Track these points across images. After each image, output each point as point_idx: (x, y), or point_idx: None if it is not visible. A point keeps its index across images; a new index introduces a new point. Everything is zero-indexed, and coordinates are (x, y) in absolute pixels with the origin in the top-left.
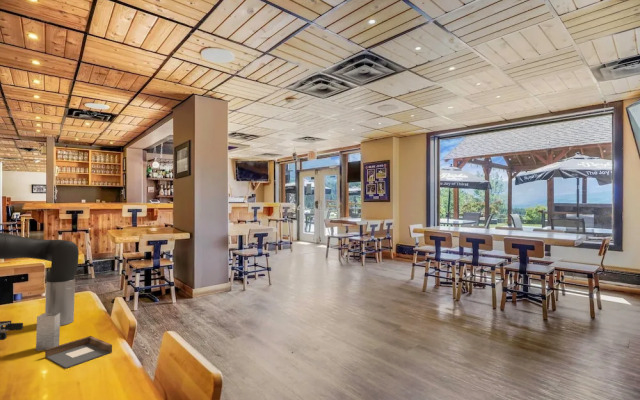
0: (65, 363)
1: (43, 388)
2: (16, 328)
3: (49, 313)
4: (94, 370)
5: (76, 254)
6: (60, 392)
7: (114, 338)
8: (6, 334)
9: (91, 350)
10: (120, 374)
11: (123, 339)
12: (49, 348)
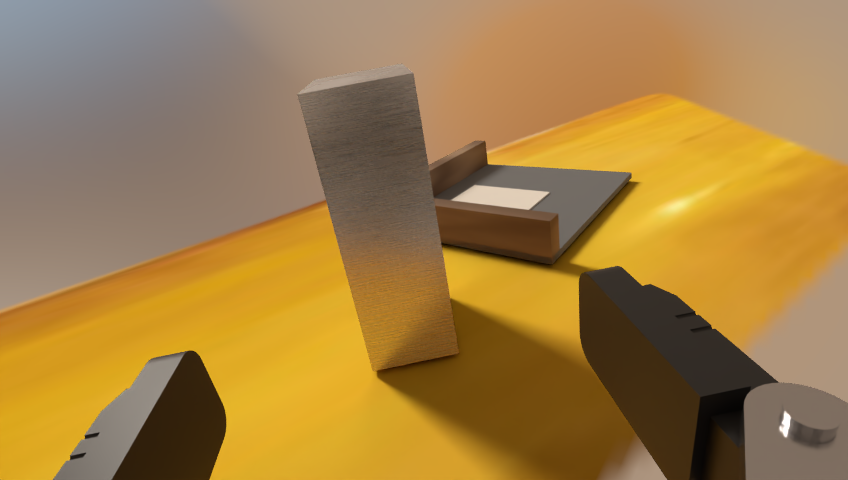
0: (602, 185)
1: (775, 158)
2: (195, 463)
3: (315, 85)
4: (606, 149)
5: None
6: (759, 135)
7: None
8: (582, 296)
9: (474, 188)
10: (607, 125)
11: None
12: (534, 217)
